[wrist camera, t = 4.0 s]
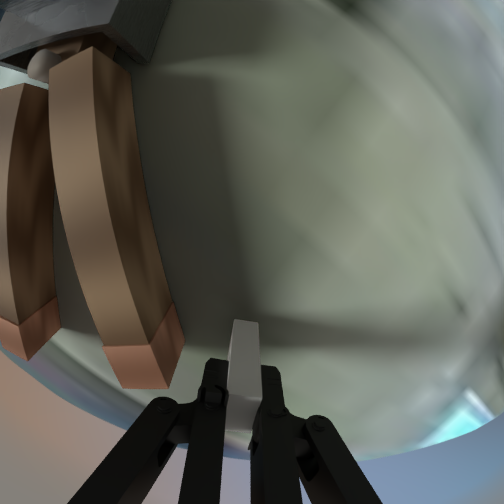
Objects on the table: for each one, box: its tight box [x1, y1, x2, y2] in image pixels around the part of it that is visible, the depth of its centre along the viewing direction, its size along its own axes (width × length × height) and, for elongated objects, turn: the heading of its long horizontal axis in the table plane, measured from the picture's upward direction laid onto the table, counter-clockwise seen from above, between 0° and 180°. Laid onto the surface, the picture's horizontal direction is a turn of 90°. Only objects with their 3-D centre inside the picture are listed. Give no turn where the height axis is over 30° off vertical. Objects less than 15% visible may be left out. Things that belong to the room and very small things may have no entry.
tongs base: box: [0, 32, 117, 361], centre depth 13 cm, size 24×6×5 cm, turn 169°
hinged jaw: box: [49, 46, 185, 389], centre depth 13 cm, size 18×3×5 cm, turn 9°
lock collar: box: [0, 0, 172, 74], centre depth 7 cm, size 6×10×10 cm, turn 79°
